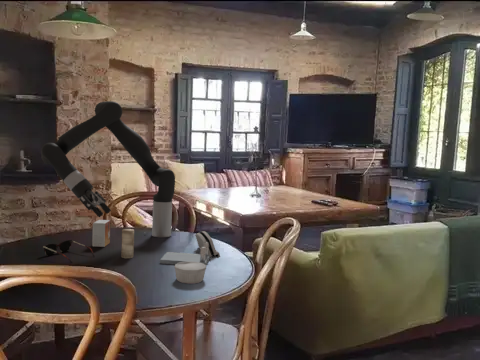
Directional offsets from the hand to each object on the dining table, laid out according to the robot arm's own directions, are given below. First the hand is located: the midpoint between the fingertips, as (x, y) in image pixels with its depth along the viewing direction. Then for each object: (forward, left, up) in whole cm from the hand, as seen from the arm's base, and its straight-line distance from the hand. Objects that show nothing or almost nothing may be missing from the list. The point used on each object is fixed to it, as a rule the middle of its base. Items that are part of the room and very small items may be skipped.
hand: (105, 213), depth 188 cm
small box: (-16, -7, -17) cm, 25 cm away
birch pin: (0, +10, -17) cm, 20 cm away
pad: (0, +34, -17) cm, 38 cm away
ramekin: (+23, +40, -17) cm, 49 cm away
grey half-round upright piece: (-16, +40, -17) cm, 46 cm away
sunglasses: (+5, -12, -18) cm, 22 cm away
